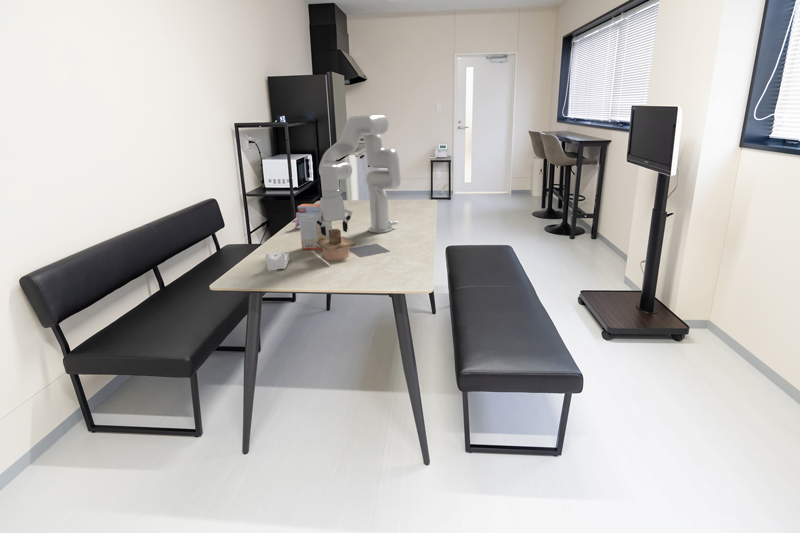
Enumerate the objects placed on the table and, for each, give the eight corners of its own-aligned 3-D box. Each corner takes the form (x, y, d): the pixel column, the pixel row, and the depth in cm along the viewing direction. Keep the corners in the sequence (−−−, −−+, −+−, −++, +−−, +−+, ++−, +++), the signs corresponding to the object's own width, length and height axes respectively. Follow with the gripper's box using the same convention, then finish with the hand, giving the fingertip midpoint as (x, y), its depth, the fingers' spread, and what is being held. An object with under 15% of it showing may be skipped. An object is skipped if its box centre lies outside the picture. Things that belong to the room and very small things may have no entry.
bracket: (285, 270, 193) (283, 253, 191) (268, 271, 193) (265, 254, 190) (289, 260, 205) (287, 244, 203) (273, 261, 205) (271, 245, 202)
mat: (376, 244, 223) (376, 243, 222) (390, 252, 210) (390, 251, 210) (347, 250, 216) (347, 248, 216) (360, 258, 204) (359, 257, 203)
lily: (319, 228, 261) (313, 212, 262) (312, 225, 249) (307, 208, 250) (299, 235, 262) (294, 219, 263) (292, 232, 250) (286, 216, 251)
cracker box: (334, 247, 221) (330, 204, 214) (328, 251, 215) (324, 206, 209) (308, 245, 225) (303, 203, 218) (301, 249, 220) (296, 205, 213)
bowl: (343, 252, 213) (342, 239, 211) (352, 258, 204) (352, 245, 202) (320, 256, 209) (319, 243, 207) (329, 263, 199) (327, 249, 197)
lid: (343, 238, 213) (342, 224, 210) (355, 245, 202) (354, 230, 200) (316, 243, 207) (315, 229, 205) (326, 250, 196) (325, 235, 194)
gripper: (346, 190, 204) (349, 228, 210) (308, 195, 196) (312, 234, 202) (353, 192, 198) (356, 231, 203) (314, 198, 190) (318, 238, 196)
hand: (334, 233), depth 203 cm, fingers open, 9 cm apart
